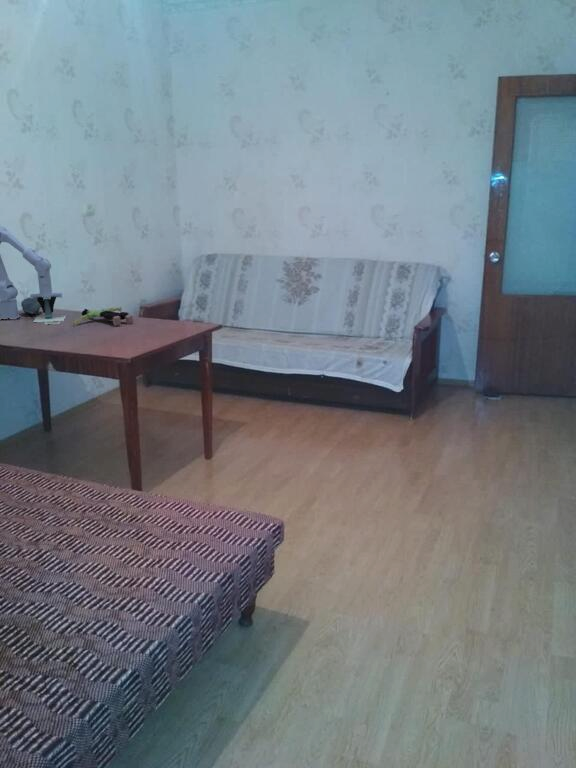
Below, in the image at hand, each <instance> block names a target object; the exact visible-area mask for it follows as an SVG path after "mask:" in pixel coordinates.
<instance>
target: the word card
mask: <svg viewBox="0 0 576 768" xmlns="http://www.w3.org/2000/svg"><path fill="white" fill-rule="evenodd" d="M43 323H44V324H43V325H44V326H45V325H46V326H48V324H52V325H60V324H61V321H59V322H43Z"/></svg>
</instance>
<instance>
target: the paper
mask: <svg viewBox="0 0 576 768" xmlns="http://www.w3.org/2000/svg"><path fill="white" fill-rule="evenodd" d="M61 316H62V317H52V318H45V316H36V317H35V319H34V320H33V322H37V323H45V322H53V321H60V322H65V320H64V319H66V317H67V315H61ZM63 316H64V317H63Z"/></svg>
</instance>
